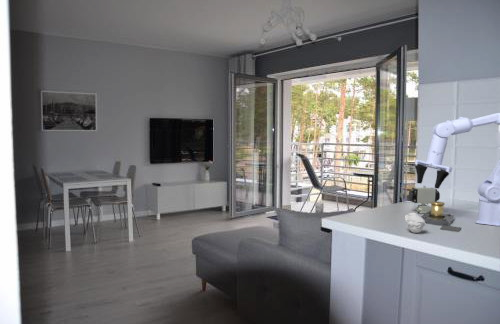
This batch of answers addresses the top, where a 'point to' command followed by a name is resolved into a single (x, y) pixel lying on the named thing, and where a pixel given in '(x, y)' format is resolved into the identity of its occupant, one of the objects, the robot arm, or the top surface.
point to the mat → (450, 228)
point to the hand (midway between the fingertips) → (427, 185)
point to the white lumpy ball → (414, 222)
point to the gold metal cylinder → (437, 209)
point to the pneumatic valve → (423, 198)
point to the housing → (438, 219)
